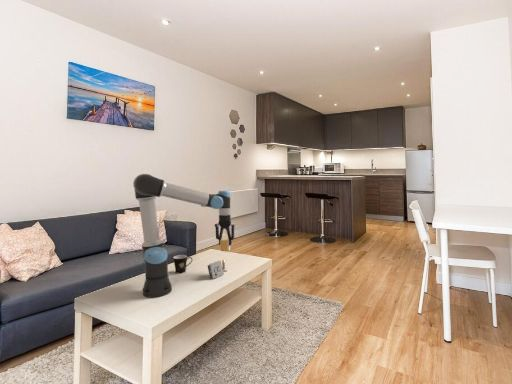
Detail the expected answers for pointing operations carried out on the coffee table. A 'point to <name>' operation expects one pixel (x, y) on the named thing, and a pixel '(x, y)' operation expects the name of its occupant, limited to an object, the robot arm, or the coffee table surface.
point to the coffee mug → (180, 263)
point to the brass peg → (223, 264)
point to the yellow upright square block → (224, 244)
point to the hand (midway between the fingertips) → (225, 249)
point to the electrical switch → (215, 269)
